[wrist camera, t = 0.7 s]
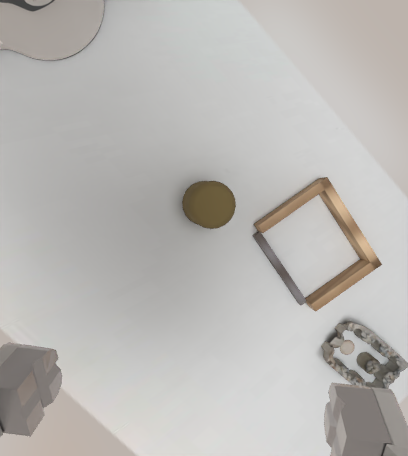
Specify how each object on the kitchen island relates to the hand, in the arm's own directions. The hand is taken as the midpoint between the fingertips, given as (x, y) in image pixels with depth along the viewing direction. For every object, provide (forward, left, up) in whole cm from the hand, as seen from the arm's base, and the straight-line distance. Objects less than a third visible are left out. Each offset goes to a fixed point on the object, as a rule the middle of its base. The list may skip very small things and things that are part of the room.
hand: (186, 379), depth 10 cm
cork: (-1, +6, -37) cm, 38 cm away
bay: (+12, +15, -37) cm, 42 cm away
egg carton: (+30, +12, -38) cm, 49 cm away
